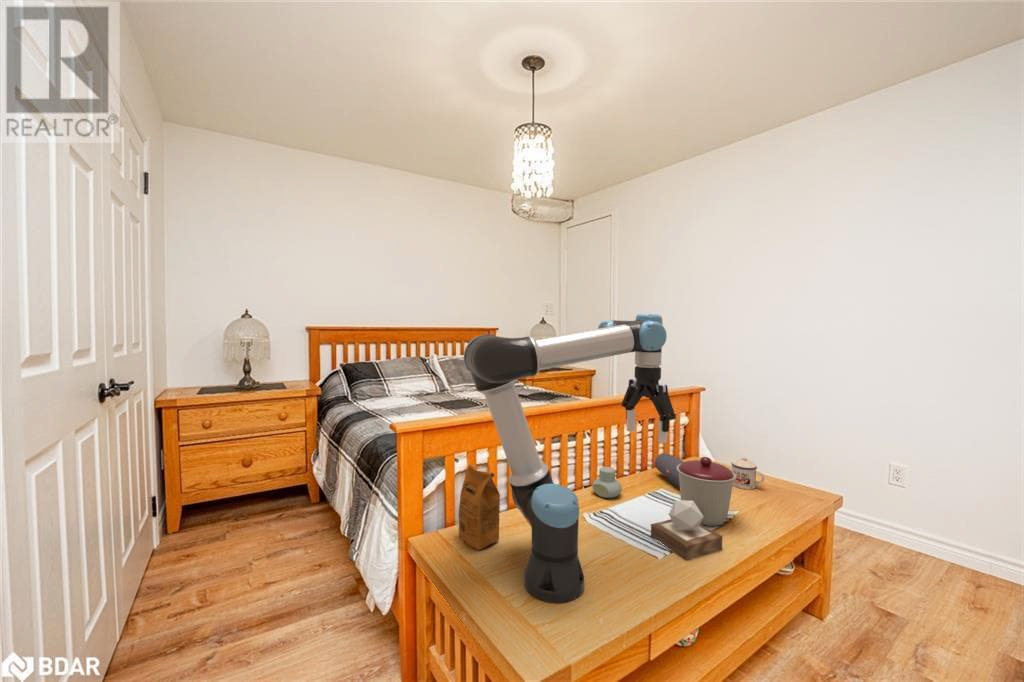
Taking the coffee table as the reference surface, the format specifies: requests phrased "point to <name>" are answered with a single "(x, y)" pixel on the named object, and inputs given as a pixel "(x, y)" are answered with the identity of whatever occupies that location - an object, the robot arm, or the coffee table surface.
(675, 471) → the bluetooth speaker
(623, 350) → the robot arm
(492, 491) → the coffee package
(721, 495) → the canister
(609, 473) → the air freshener
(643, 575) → the coffee table surface
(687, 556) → the base
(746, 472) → the teacup with lid
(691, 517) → the die
